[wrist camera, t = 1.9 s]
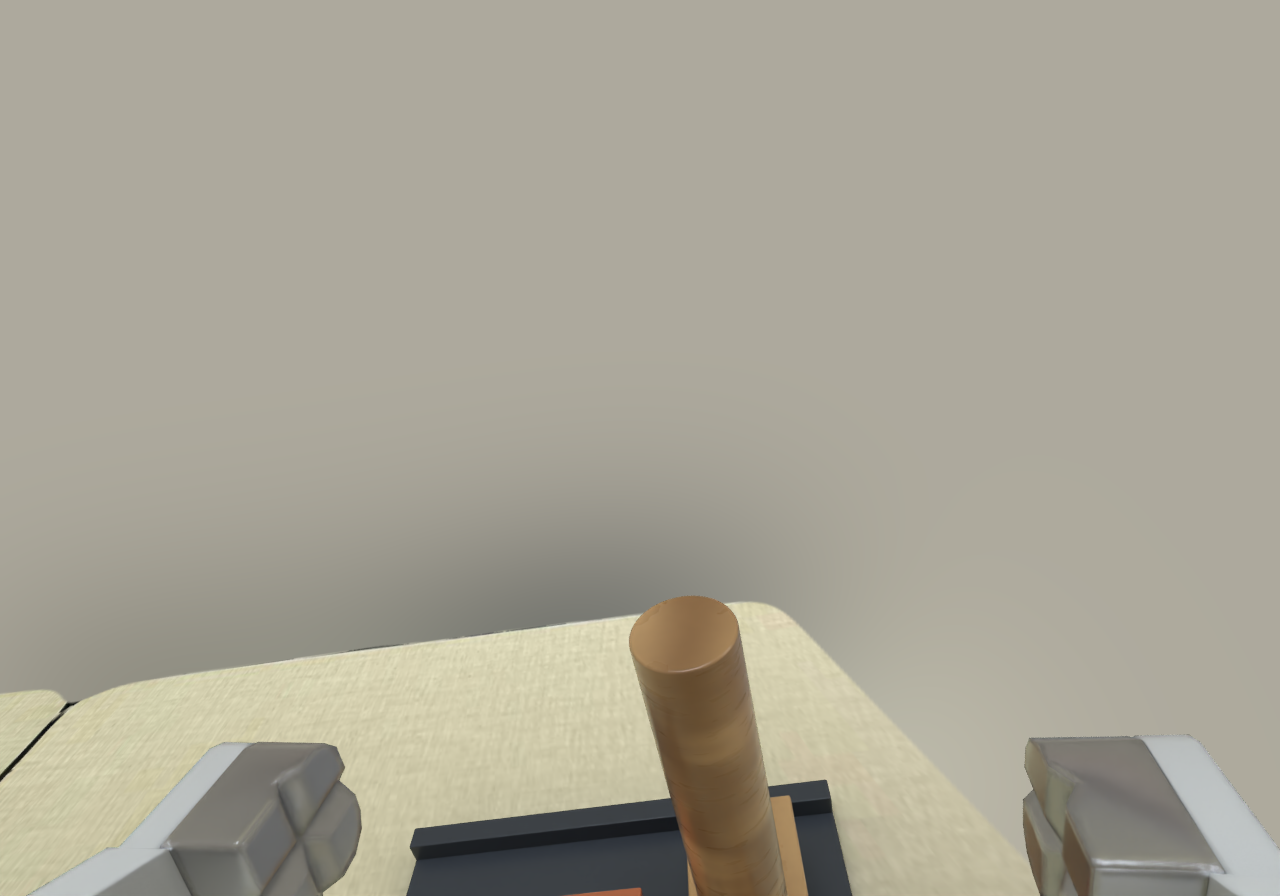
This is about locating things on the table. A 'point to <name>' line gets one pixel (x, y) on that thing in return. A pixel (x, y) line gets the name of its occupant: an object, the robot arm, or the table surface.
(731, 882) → the brush
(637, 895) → the block
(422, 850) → the tray
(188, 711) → the table surface
